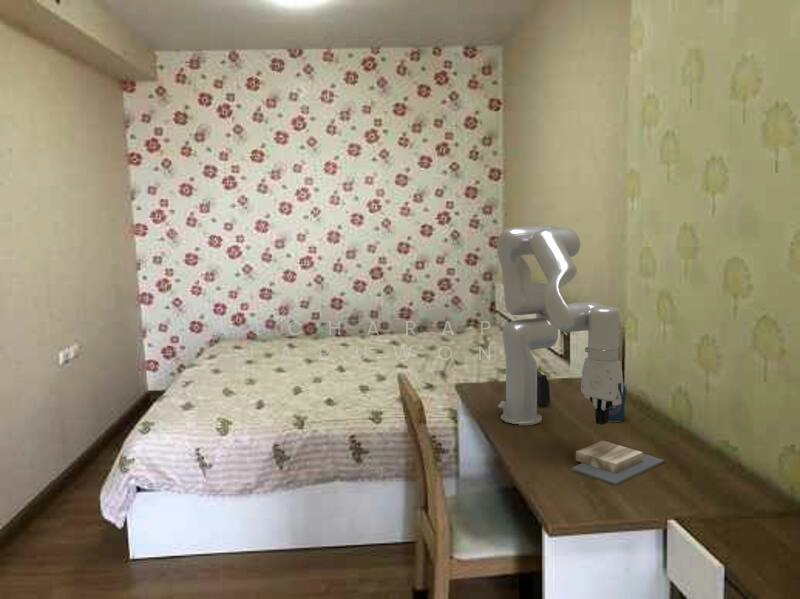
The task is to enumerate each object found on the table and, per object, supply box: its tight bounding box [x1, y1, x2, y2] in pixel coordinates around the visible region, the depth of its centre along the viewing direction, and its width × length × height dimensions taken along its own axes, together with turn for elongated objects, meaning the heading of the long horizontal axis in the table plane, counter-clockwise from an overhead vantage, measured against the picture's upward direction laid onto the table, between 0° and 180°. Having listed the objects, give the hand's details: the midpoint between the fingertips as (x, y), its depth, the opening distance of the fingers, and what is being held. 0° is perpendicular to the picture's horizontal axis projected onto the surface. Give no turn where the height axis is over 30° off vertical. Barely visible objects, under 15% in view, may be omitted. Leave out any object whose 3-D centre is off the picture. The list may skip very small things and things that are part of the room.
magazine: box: [537, 368, 551, 406], centre depth 246 cm, size 17×3×30 cm
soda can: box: [608, 381, 626, 423], centre depth 219 cm, size 7×7×12 cm
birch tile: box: [575, 440, 644, 474], centre depth 184 cm, size 2×12×12 cm
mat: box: [570, 453, 665, 486], centre depth 182 cm, size 13×22×1 cm, turn 130°
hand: (601, 423), depth 185 cm, fingers closed
